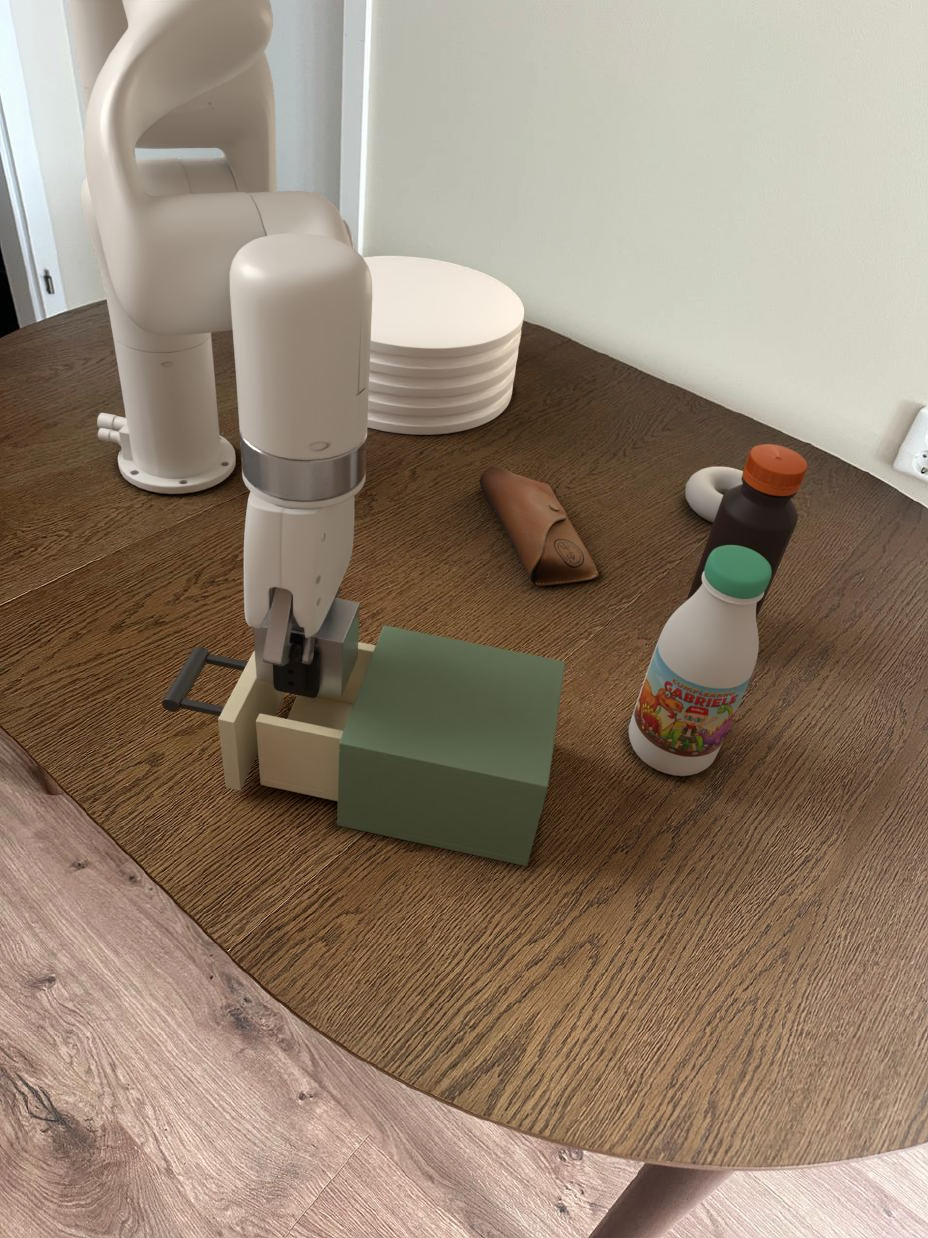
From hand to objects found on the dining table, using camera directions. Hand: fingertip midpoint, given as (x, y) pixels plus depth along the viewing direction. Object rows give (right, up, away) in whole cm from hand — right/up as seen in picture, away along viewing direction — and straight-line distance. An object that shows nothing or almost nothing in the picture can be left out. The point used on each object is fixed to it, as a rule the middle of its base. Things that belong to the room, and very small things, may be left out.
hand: (307, 665), depth 67 cm
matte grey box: (0, 0, 0) cm, 0 cm away
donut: (+42, +16, +40) cm, 61 cm away
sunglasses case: (+19, +13, +33) cm, 40 cm away
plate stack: (+4, +35, +56) cm, 66 cm away
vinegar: (+36, +2, +23) cm, 43 cm away
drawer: (-2, -7, +6) cm, 9 cm away
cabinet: (+10, -10, +6) cm, 15 cm away
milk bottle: (+29, -8, +12) cm, 32 cm away
